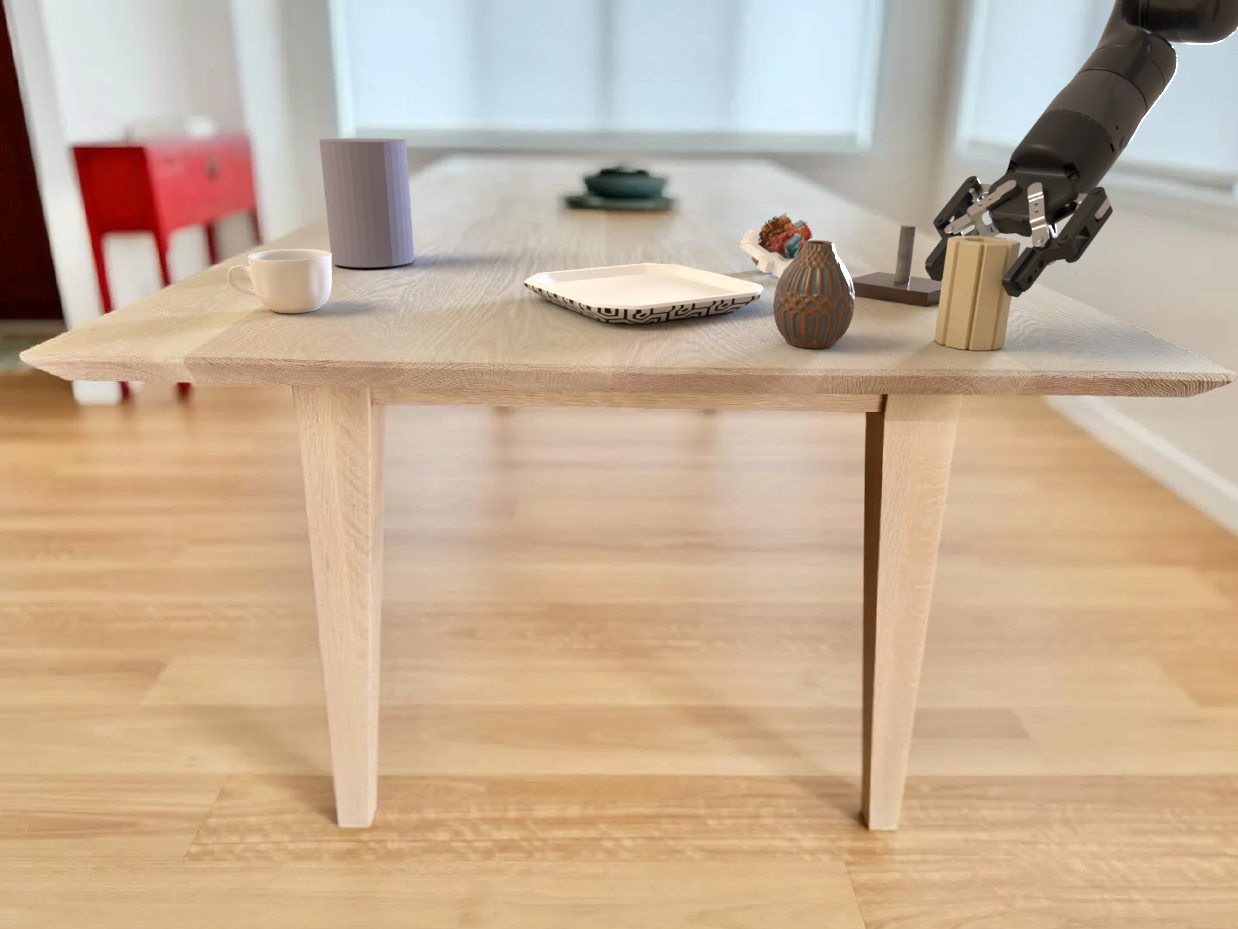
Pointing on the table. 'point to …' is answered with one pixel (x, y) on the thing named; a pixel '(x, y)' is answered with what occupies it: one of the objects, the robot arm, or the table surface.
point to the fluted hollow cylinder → (975, 292)
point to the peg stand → (900, 279)
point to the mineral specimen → (776, 244)
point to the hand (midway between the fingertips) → (968, 282)
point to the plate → (644, 292)
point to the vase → (814, 297)
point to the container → (367, 202)
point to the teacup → (288, 279)
